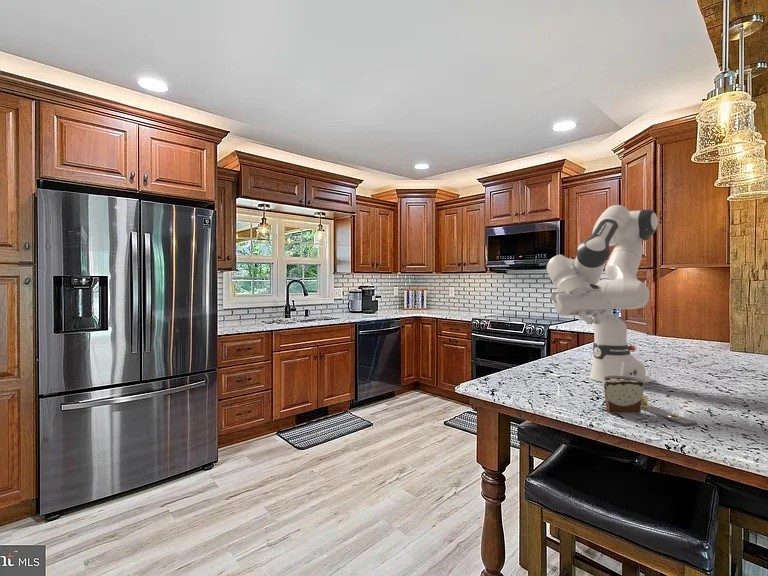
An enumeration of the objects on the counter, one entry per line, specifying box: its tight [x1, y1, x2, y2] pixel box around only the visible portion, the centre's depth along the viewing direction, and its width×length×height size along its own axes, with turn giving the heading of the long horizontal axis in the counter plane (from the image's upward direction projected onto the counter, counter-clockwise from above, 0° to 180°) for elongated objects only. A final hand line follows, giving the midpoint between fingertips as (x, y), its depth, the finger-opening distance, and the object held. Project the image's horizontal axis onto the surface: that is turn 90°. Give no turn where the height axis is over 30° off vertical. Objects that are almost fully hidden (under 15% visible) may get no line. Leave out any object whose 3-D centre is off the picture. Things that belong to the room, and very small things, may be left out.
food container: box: [601, 376, 647, 414], centre depth 122 cm, size 12×6×10 cm, turn 89°
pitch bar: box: [641, 394, 698, 427], centre depth 119 cm, size 4×20×4 cm, turn 13°
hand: (594, 323), depth 132 cm, fingers closed
